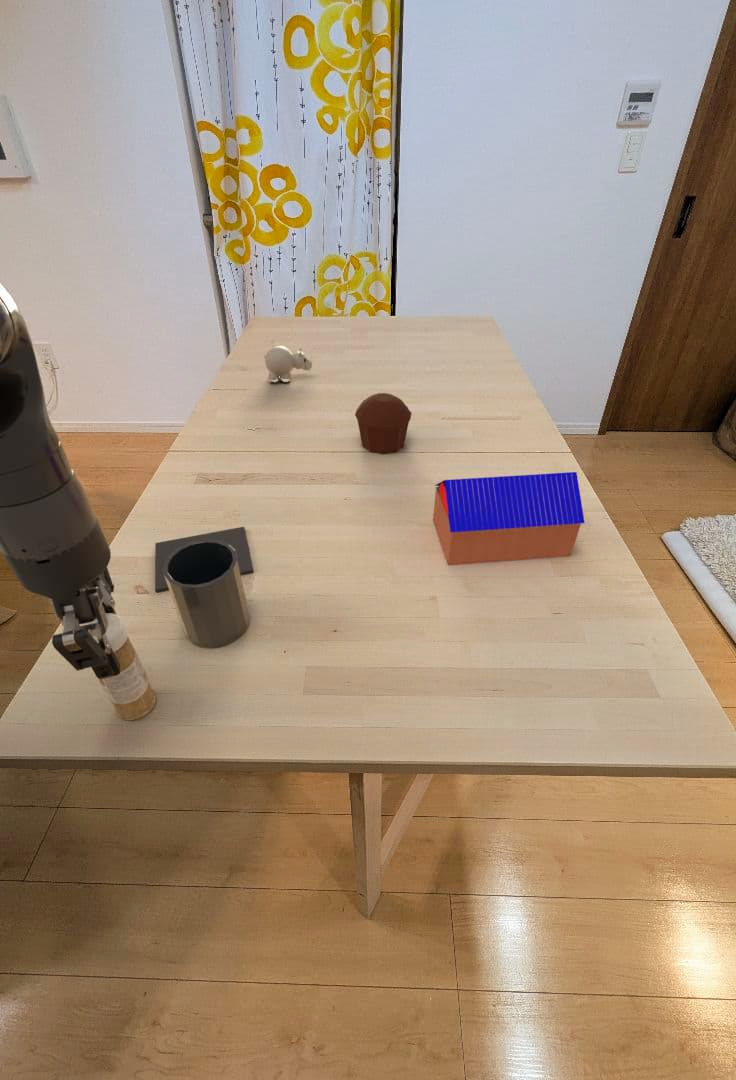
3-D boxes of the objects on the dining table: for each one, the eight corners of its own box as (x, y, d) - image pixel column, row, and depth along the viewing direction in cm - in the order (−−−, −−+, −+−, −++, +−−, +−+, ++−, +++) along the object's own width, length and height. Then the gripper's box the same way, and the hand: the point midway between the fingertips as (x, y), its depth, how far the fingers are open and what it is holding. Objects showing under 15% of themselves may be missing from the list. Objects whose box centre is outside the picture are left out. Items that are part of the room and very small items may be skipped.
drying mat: (155, 592, 74) (154, 589, 74) (156, 545, 82) (155, 542, 82) (253, 572, 78) (253, 569, 77) (244, 529, 86) (244, 526, 85)
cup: (185, 655, 66) (163, 594, 59) (183, 607, 72) (163, 547, 65) (253, 639, 68) (240, 578, 61) (245, 594, 74) (232, 534, 67)
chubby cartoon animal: (314, 383, 132) (312, 350, 126) (266, 386, 131) (262, 352, 125) (313, 373, 137) (311, 340, 132) (267, 375, 136) (263, 342, 131)
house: (573, 557, 80) (594, 494, 72) (446, 566, 78) (454, 503, 71) (544, 511, 89) (560, 451, 82) (430, 518, 88) (436, 458, 80)
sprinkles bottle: (118, 692, 62) (77, 615, 53) (158, 684, 62) (125, 607, 54) (114, 726, 58) (69, 650, 50) (156, 717, 59) (119, 640, 50)
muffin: (417, 453, 105) (420, 406, 98) (365, 461, 102) (364, 414, 96) (398, 426, 113) (400, 382, 107) (349, 433, 111) (348, 389, 105)
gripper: (15, 489, 48) (81, 614, 59) (-26, 594, 37) (63, 723, 48) (101, 475, 50) (150, 599, 60) (86, 573, 39) (148, 702, 50)
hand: (111, 654), depth 54 cm, fingers closed on sprinkles bottle, 4 cm apart
